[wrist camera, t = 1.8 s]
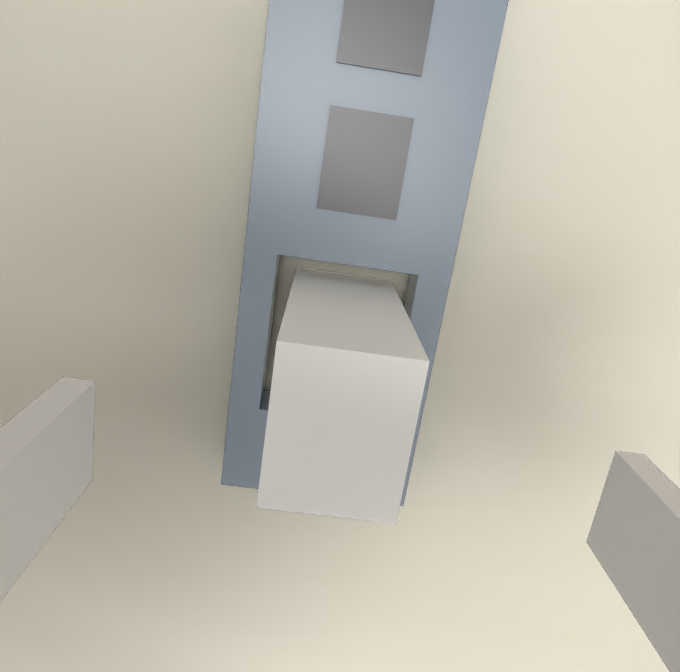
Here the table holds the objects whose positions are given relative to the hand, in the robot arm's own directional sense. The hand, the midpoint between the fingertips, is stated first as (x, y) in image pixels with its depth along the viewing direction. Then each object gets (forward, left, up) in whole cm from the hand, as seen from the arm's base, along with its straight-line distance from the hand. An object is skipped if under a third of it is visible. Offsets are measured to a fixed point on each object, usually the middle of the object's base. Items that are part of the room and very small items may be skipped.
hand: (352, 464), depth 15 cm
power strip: (0, +4, -11) cm, 12 cm away
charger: (0, 0, -11) cm, 11 cm away
